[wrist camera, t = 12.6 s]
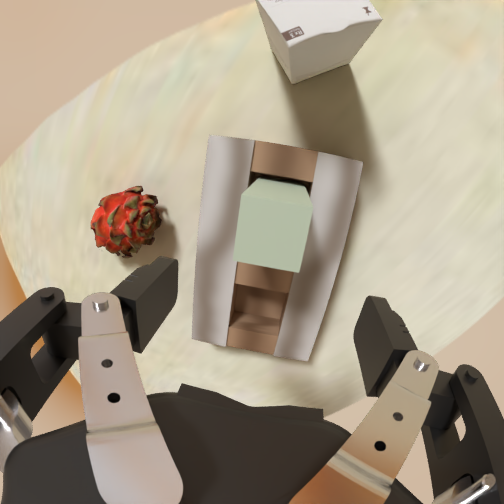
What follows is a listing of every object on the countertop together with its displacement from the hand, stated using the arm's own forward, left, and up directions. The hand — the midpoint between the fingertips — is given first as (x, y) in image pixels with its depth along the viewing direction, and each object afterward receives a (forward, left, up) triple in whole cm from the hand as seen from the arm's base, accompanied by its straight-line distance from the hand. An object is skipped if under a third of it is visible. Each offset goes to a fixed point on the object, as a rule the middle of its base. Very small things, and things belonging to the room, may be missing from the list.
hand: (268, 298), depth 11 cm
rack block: (+1, +7, -24) cm, 25 cm away
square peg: (0, 0, -23) cm, 23 cm away
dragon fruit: (+20, +6, -24) cm, 32 cm away
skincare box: (0, -18, -24) cm, 30 cm away
